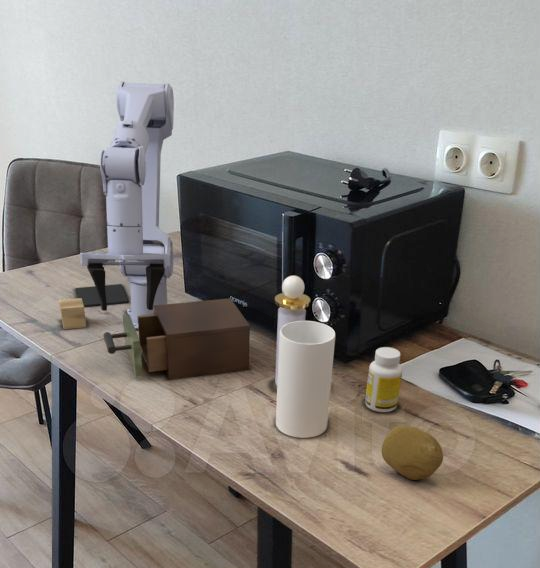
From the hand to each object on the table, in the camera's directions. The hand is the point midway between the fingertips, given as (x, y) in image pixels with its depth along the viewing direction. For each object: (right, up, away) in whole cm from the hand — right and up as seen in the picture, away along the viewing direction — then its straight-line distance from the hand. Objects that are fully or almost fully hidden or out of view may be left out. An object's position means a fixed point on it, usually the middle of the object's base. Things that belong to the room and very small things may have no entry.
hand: (127, 309), depth 119 cm
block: (-15, +1, +21) cm, 26 cm away
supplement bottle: (+43, -16, -1) cm, 46 cm away
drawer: (+4, -8, +8) cm, 12 cm away
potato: (+44, -27, -18) cm, 55 cm away
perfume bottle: (+27, -13, +3) cm, 30 cm away
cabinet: (+12, -7, +11) cm, 17 cm away
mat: (-12, +9, +33) cm, 37 cm away
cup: (+29, -20, -7) cm, 36 cm away
